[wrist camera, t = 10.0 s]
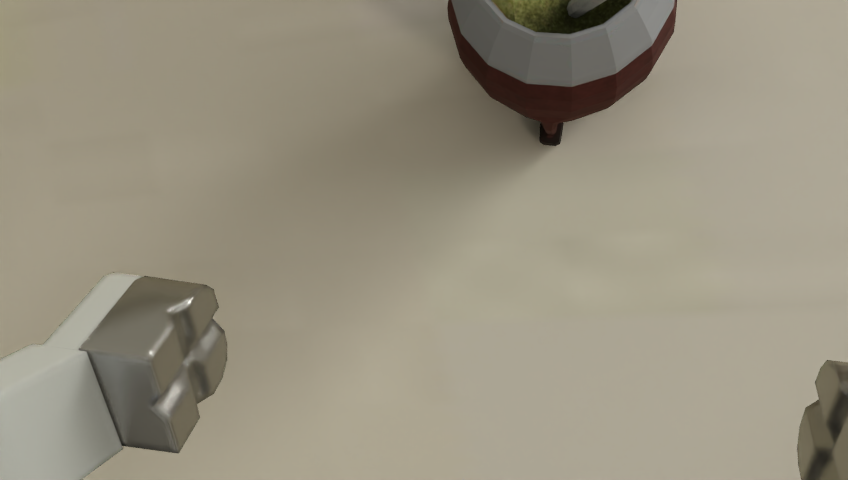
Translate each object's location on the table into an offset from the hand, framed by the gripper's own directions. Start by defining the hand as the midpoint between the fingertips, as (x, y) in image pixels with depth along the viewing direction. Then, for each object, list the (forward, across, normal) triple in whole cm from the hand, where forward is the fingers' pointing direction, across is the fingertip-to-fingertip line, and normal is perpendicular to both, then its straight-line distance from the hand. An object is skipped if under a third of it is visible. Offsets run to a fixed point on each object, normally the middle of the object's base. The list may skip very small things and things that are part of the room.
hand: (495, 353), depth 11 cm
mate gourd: (+21, 0, +5) cm, 21 cm away
